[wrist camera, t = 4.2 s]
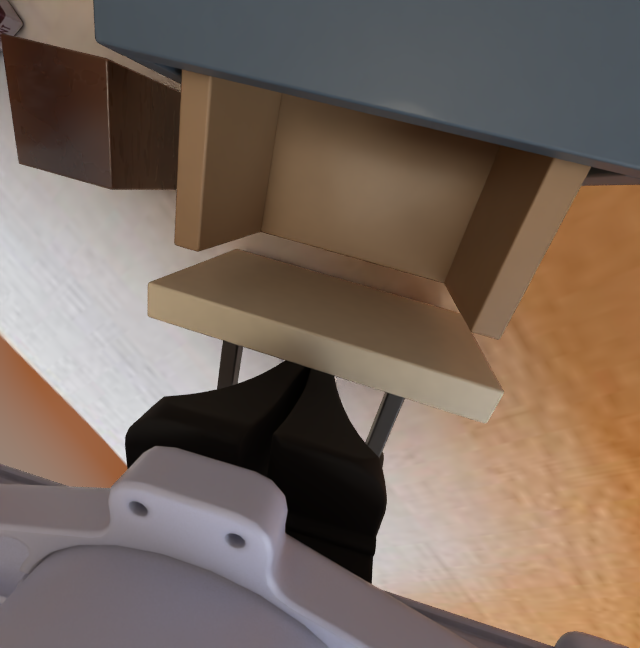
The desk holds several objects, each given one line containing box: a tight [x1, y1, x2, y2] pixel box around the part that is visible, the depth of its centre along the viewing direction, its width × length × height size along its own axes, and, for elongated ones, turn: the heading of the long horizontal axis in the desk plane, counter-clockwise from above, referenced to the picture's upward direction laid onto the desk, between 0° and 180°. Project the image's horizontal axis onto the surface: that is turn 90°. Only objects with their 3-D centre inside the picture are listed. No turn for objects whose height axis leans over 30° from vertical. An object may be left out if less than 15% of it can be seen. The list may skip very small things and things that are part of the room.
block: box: [1, 34, 181, 190], centre depth 13 cm, size 4×4×4 cm
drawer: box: [148, 69, 591, 467], centre depth 11 cm, size 16×11×6 cm
